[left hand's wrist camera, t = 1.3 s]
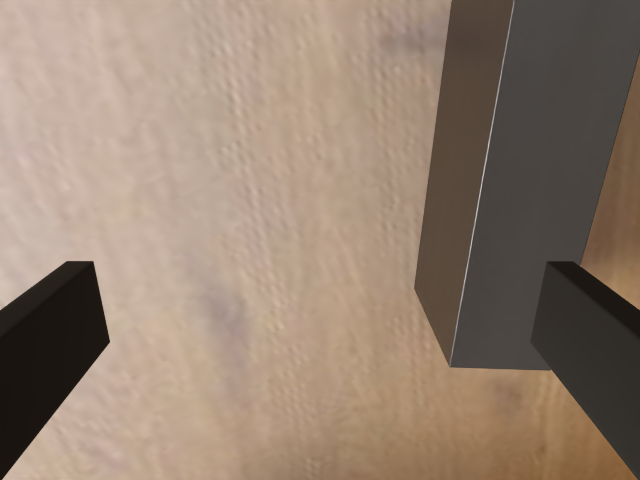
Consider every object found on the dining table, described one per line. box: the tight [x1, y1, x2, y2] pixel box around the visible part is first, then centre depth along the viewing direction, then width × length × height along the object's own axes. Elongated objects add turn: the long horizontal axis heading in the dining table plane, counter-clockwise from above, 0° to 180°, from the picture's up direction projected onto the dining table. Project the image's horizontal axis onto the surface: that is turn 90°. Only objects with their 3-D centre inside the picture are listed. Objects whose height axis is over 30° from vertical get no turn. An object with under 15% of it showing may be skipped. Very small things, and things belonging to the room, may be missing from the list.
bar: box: [414, 0, 640, 370], centre depth 23 cm, size 24×6×9 cm, turn 178°
